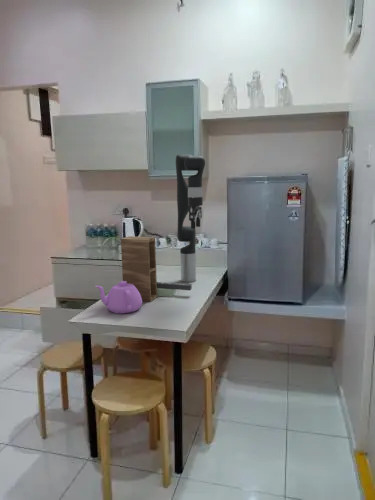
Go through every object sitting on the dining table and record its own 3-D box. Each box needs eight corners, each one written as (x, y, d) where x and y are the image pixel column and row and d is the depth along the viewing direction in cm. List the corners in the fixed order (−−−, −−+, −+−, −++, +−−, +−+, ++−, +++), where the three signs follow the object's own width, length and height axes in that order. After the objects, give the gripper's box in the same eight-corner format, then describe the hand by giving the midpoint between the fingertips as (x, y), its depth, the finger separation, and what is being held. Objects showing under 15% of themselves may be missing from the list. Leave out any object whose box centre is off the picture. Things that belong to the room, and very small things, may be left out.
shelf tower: (131, 294, 211) (128, 236, 205) (157, 297, 206) (155, 237, 200) (123, 299, 202) (120, 238, 197) (150, 302, 197) (147, 239, 192)
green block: (148, 291, 218) (148, 284, 217) (175, 293, 212) (175, 286, 212) (143, 294, 211) (143, 288, 210) (171, 296, 206) (171, 290, 205)
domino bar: (150, 286, 214) (149, 281, 214) (191, 289, 207) (191, 284, 206) (148, 287, 212) (147, 282, 211) (190, 290, 204) (190, 285, 204)
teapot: (92, 306, 192) (90, 279, 189) (135, 300, 200) (134, 274, 198) (101, 321, 172) (99, 290, 169) (148, 313, 180) (147, 284, 178)
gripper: (192, 195, 208) (193, 226, 210) (183, 196, 194) (184, 229, 197) (206, 195, 205) (206, 226, 208) (198, 196, 192) (198, 229, 195)
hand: (195, 227), depth 202 cm, fingers open, 8 cm apart
